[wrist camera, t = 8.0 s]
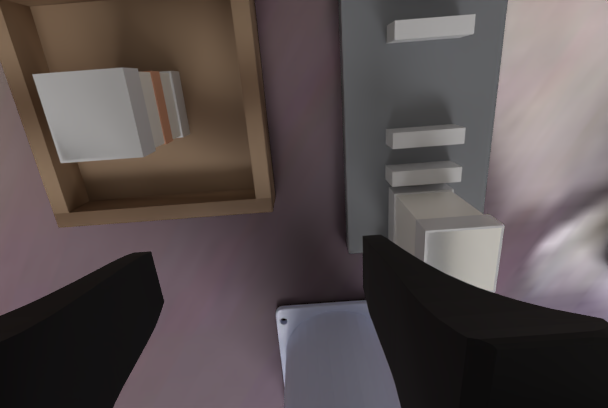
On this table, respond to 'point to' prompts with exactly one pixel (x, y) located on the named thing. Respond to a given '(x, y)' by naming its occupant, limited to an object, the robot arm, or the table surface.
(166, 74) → the block
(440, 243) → the block
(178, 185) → the tray
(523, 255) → the table surface
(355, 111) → the fuse holder
